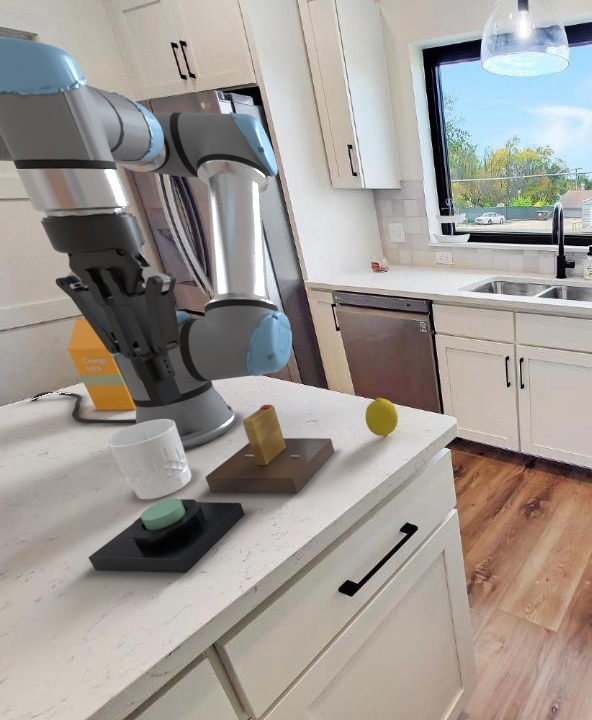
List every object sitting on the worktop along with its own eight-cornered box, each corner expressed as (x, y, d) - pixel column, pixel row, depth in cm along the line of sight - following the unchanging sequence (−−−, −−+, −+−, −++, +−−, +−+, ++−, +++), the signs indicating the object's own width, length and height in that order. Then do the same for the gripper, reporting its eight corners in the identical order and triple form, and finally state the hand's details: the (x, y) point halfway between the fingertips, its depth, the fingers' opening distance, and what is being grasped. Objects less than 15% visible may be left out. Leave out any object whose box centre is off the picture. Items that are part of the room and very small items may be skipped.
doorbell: (95, 570, 51) (81, 546, 50) (167, 513, 61) (157, 490, 59) (186, 573, 51) (175, 548, 49) (245, 514, 60) (237, 492, 58)
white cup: (158, 472, 70) (135, 420, 66) (207, 469, 71) (187, 417, 67) (118, 504, 63) (89, 448, 59) (173, 500, 63) (148, 444, 60)
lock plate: (211, 492, 65) (204, 476, 63) (259, 452, 75) (254, 437, 74) (297, 494, 64) (292, 477, 63) (334, 452, 74) (330, 437, 73)
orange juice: (134, 409, 92) (96, 322, 85) (95, 410, 92) (54, 324, 85) (164, 394, 99) (131, 312, 92) (128, 394, 100) (93, 313, 92)
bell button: (137, 530, 53) (131, 519, 52) (165, 508, 56) (160, 498, 56) (167, 531, 52) (161, 520, 52) (193, 508, 56) (189, 498, 55)
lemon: (391, 445, 75) (383, 406, 73) (363, 443, 77) (355, 404, 74) (406, 429, 80) (399, 392, 78) (380, 427, 82) (373, 390, 79)
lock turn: (266, 465, 66) (251, 419, 63) (256, 465, 66) (241, 419, 63) (286, 447, 70) (273, 404, 67) (277, 447, 71) (264, 404, 67)
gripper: (172, 209, 49) (234, 388, 58) (71, 212, 50) (148, 388, 59) (107, 213, 42) (189, 416, 51) (-9, 216, 43) (92, 414, 52)
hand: (167, 401), depth 55 cm, fingers closed
